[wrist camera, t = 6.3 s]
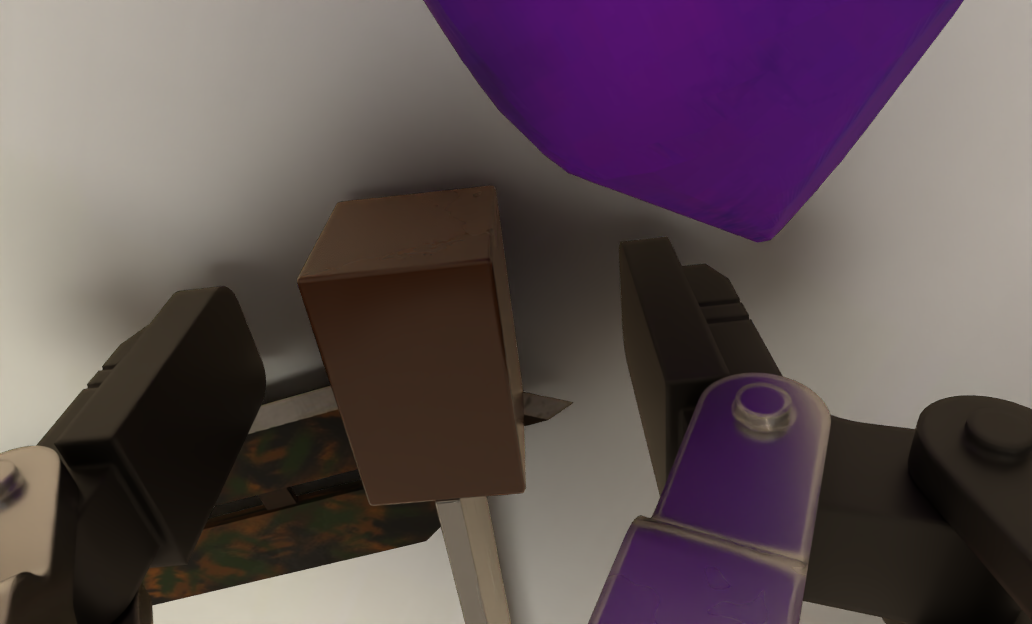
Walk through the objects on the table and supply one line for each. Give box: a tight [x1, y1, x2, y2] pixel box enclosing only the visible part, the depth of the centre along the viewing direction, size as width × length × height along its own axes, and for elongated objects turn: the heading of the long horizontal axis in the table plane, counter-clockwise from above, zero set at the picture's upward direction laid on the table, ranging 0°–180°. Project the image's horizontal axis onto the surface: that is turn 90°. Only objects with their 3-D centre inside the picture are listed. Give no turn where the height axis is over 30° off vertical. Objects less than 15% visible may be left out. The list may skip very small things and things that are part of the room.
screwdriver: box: [297, 185, 526, 624], centre depth 13 cm, size 13×2×2 cm, turn 6°
